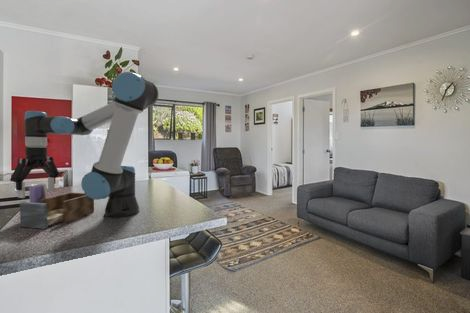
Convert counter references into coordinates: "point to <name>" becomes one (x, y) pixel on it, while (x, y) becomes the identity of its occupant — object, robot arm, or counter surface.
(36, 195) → the beverage can
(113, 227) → the counter surface
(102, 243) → the counter surface
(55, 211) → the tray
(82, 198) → the caddy
